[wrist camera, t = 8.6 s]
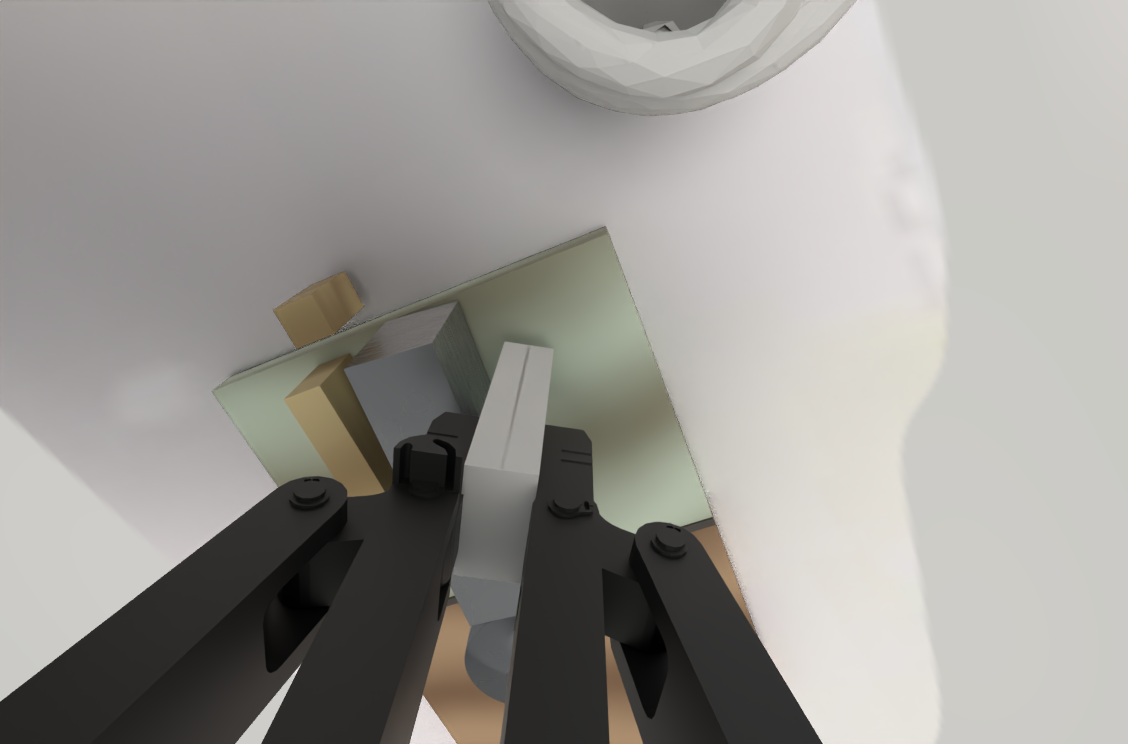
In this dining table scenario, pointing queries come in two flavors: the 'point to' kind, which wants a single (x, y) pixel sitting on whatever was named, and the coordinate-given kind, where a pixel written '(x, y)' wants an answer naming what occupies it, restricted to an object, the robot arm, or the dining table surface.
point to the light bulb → (665, 46)
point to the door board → (494, 315)
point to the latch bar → (406, 408)
